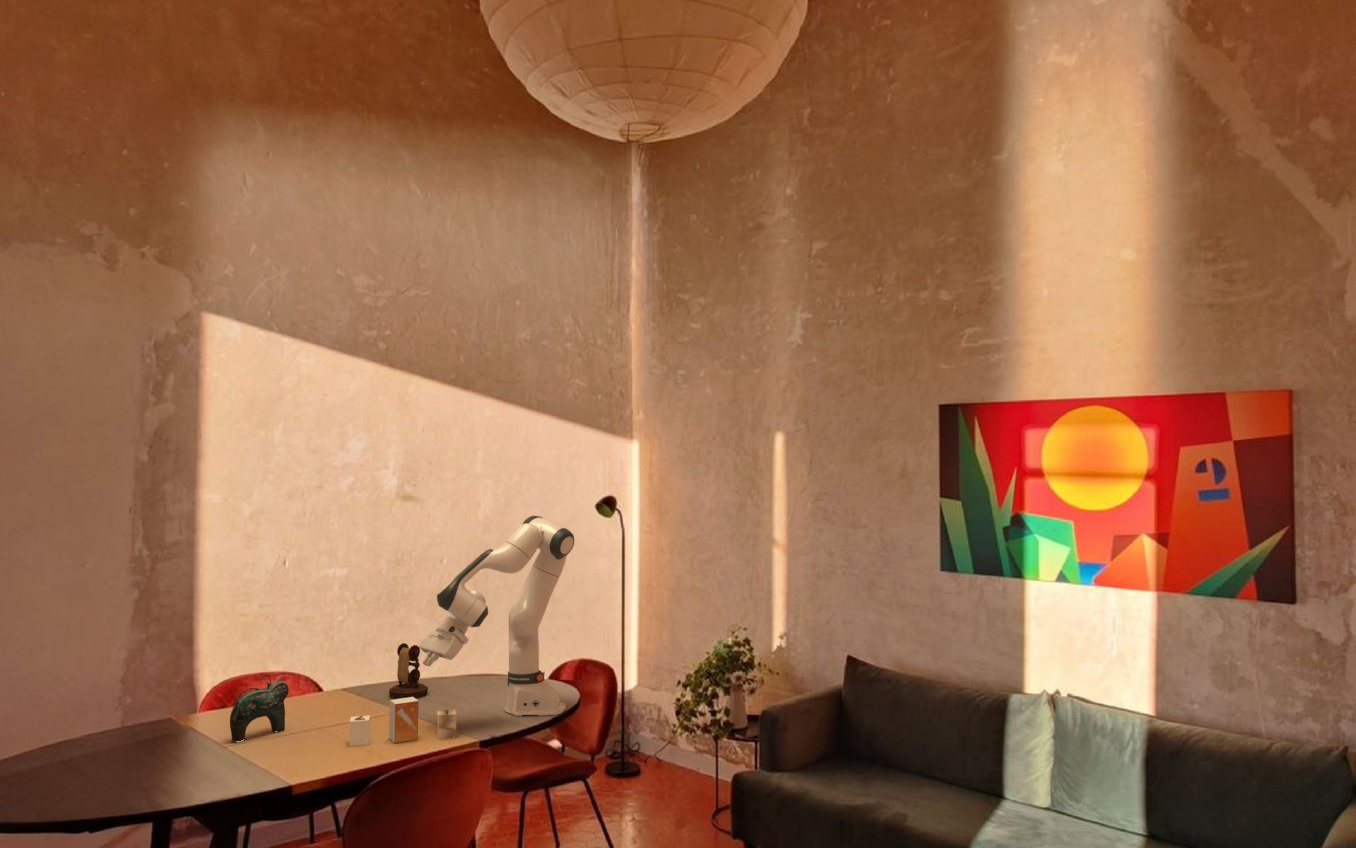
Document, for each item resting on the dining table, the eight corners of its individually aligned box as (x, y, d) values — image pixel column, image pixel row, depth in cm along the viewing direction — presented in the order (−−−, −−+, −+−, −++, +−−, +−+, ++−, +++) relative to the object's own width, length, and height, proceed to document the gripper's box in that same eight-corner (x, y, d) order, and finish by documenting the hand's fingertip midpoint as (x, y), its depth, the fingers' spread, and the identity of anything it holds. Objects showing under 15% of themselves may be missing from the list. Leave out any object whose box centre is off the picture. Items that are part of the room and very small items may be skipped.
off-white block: (369, 739, 321) (369, 714, 322) (369, 744, 316) (369, 719, 316) (350, 741, 320) (350, 716, 320) (349, 746, 314) (349, 720, 314)
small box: (394, 744, 316) (394, 704, 317) (388, 739, 322) (389, 699, 322) (418, 739, 321) (419, 700, 321) (412, 735, 326) (412, 696, 326)
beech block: (455, 733, 328) (455, 708, 329) (456, 738, 323) (456, 713, 323) (437, 734, 327) (437, 709, 327) (437, 739, 321) (437, 714, 321)
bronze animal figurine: (281, 727, 336) (282, 669, 336) (292, 730, 332) (293, 672, 333) (226, 741, 320) (227, 681, 320) (237, 745, 316) (238, 683, 316)
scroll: (381, 696, 377) (381, 645, 378) (411, 688, 389) (411, 639, 390) (405, 702, 369) (406, 649, 369) (435, 694, 381) (436, 643, 382)
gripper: (430, 623, 344) (405, 655, 337) (459, 630, 329) (433, 664, 322) (442, 633, 347) (417, 665, 340) (471, 641, 332) (446, 674, 325)
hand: (425, 665), depth 331 cm, fingers closed
